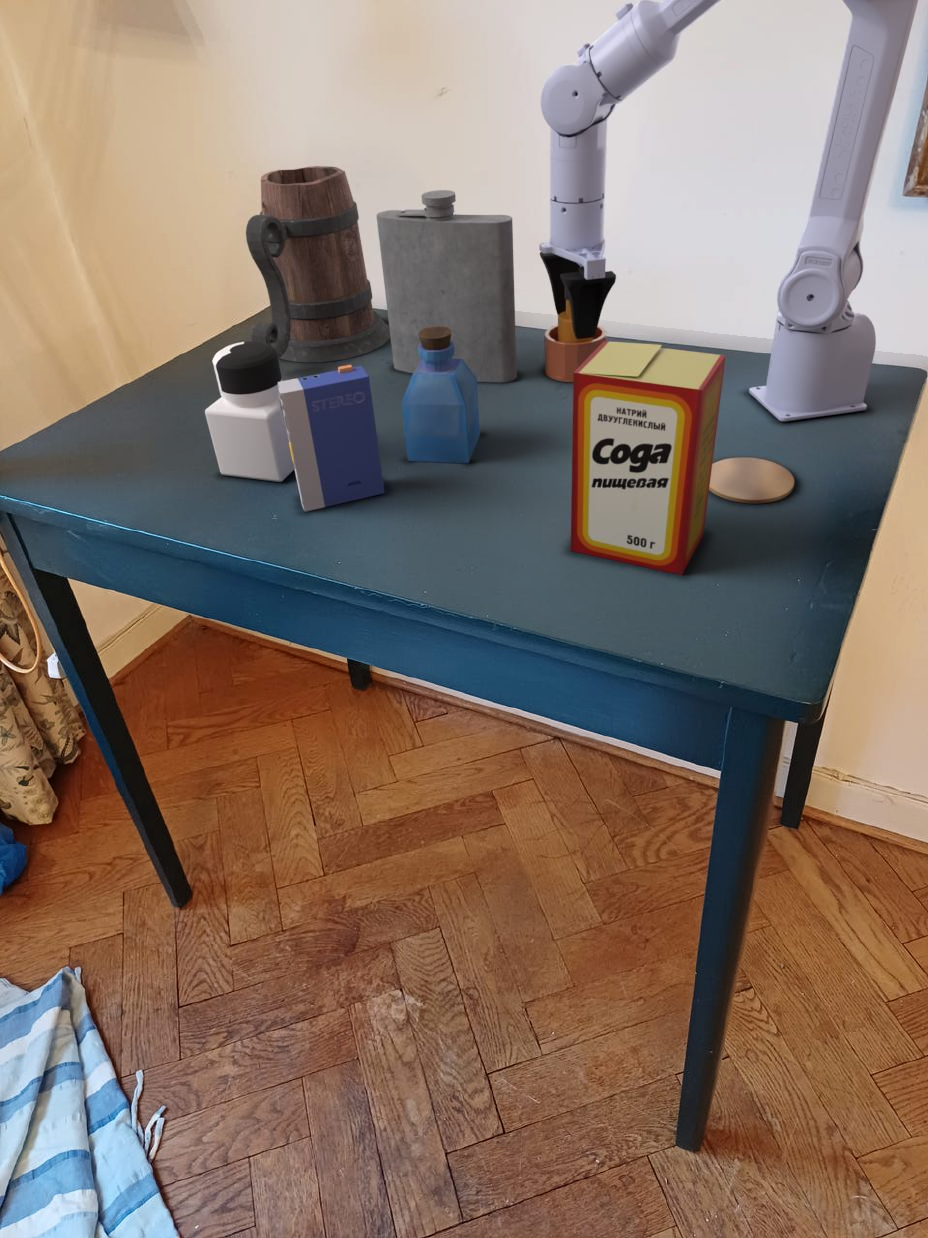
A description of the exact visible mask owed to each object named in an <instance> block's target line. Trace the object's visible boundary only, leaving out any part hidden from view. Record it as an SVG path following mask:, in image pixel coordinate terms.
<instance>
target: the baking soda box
mask: <svg viewBox="0 0 928 1238" xmlns="http://www.w3.org/2000/svg"><path fill="white" fill-rule="evenodd" d="M662 346H663V344H655V343H639V342H624V341H607V340H606V341H604V342H603V343H602V344H601V345H600V346H599V347H598V348H597V349H596V350H595V351H594V352H593V353H592V354H591V355H590V356H589V357H588V358H587V359H586V360H585V361H584V362H583V363H582V364H581V365H580V366H579V367H578V369H577V370H576V371H575V372H574V373H573V382H572V384H573V386H572V391H573V392H572V437H571V438H572V442H571V443H572V444H571V445H572V446H571V496H570V497H571V501H570V503H571V504H570V509H571V510H570V552H574V553H579V554H584V555H587V556H593V557H598V558H602V559H606V560H611V561H616V562H620V563H624V564H629V565H633V566H639V567H644V568H648V569H651V570H656V571H657V570H658V571H660V572H661V571H662V572H665V573H670V574H676V575H678V576H679V575H680V576H683V574H684V572H685V570H686V568H687V566H688V565H689V562H690V561H691V558H692V557H693V555H694V553H695V551H696V549H697V548H698V545H699V543H700V542H701V540H702V538H703V536H704V533H705V526H706V517H707V509H708V502H709V493H710V490H709V486H710V478H711V470H712V464H713V463H714V462H713V461H714V454H715V446H716V437H717V430H718V429H717V428H718V422H719V414H720V405H721V398H722V397H721V396H722V391H723V382H724V381H723V380H724V373H725V366H726V358H727V357H726V356H727V355H725V354H716V353H709V352H708V353H707V352H701V351H692V350H682V349H675V348H666V347H662Z"/></svg>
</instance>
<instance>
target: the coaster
mask: <svg viewBox="0 0 928 1238" xmlns="http://www.w3.org/2000/svg"><path fill="white" fill-rule="evenodd" d="M794 488H795V477H794V476H793V474H792V473H791V472H790V471H789V470H788V469H787V468H786V467H784V466H783V465H780V464H778V463H776V462H775V461H774V462H773V461H770V460H767V459H763V458H757V457H748V456H747V457H746V456H745V457H743V456H742V457H730V458H725V459H720V460H719V461H715V462H712V470H711V478H710V486H709V492H711V493H713V494H714V495H715V496H718V497H720V498H723V499H725V500H727V501H732V502H736V503H741V504H751V505H752V504H754V505H755V504H767V503H773V502H777V501H779V500H782V499H784V498H786V497H788V496H789V495H790V494H791V493H792V492H793V490H794Z"/></svg>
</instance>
